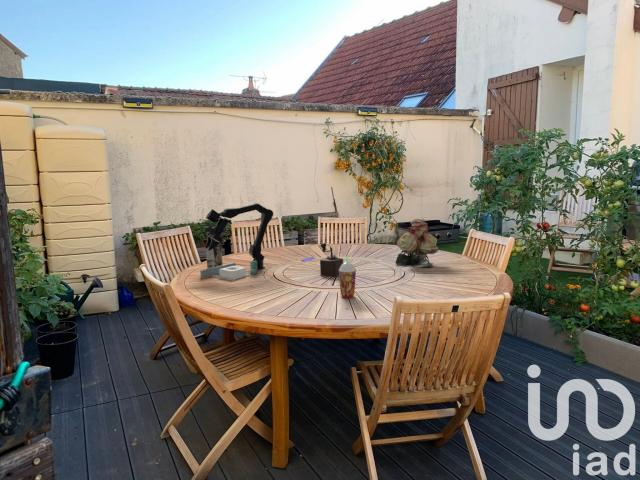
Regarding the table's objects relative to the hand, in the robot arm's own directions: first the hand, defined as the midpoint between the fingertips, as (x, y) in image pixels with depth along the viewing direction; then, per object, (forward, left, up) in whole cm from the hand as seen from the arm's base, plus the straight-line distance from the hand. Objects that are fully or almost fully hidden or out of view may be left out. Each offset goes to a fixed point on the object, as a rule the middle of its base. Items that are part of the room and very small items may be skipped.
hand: (207, 249), depth 266 cm
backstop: (-3, +15, -16) cm, 22 cm away
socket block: (-3, +18, -16) cm, 24 cm away
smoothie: (-5, +97, -16) cm, 99 cm away
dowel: (-15, +23, -16) cm, 32 cm away
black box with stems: (-40, +61, -16) cm, 75 cm away
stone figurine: (-93, +95, -16) cm, 135 cm away
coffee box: (-8, -3, -16) cm, 18 cm away
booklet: (-68, +35, -16) cm, 78 cm away
